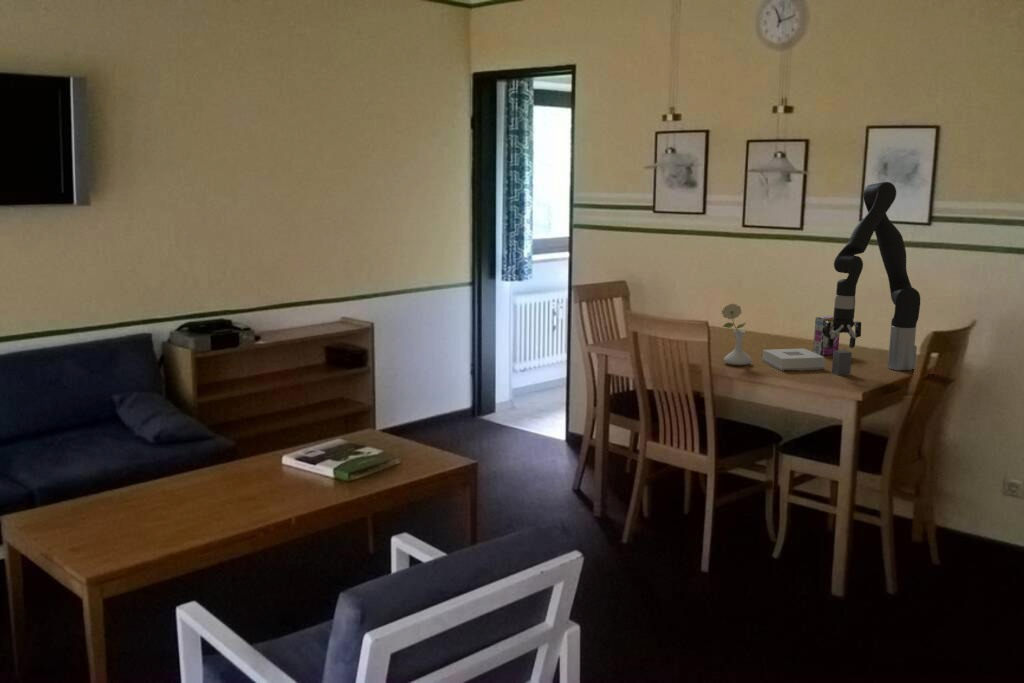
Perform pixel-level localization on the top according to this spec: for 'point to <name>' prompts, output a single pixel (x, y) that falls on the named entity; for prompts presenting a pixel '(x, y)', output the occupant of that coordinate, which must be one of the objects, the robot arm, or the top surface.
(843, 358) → the plug
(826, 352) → the candy bar box
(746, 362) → the flower in vase
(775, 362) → the socket
